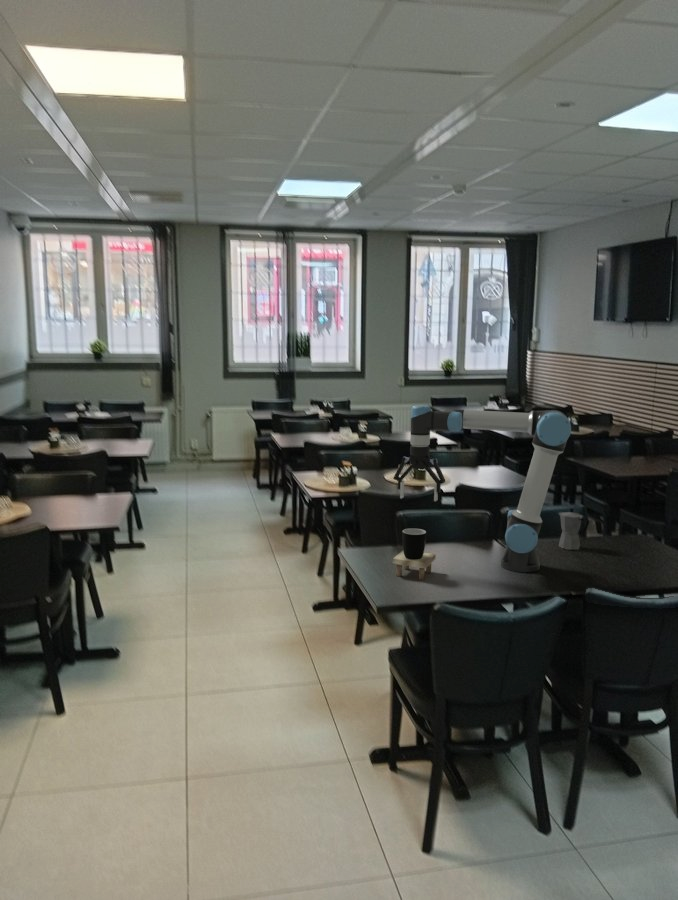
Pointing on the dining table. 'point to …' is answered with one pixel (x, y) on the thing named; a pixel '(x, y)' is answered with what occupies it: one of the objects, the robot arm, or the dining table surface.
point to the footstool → (414, 563)
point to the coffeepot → (571, 529)
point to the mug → (413, 543)
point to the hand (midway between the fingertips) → (418, 499)
